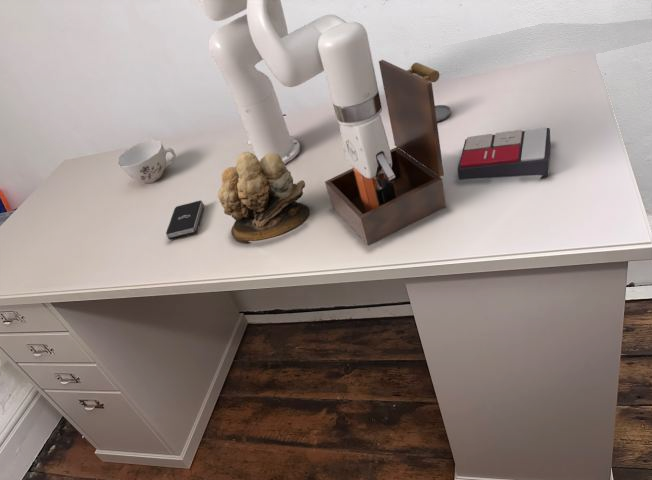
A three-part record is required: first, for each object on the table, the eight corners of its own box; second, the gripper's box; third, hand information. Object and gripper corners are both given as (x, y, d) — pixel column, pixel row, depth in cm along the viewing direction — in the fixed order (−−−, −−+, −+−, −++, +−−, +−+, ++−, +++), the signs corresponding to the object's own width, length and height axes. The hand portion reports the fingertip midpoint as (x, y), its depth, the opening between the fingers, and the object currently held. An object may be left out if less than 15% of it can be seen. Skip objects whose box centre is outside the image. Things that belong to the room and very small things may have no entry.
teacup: (127, 195, 139) (111, 170, 134) (138, 171, 148) (123, 146, 143) (178, 181, 136) (164, 154, 131) (186, 157, 145) (173, 131, 140)
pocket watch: (454, 108, 119) (450, 65, 113) (442, 128, 115) (437, 84, 108) (420, 109, 124) (414, 68, 117) (407, 128, 119) (400, 86, 113)
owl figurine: (313, 197, 111) (289, 124, 100) (316, 230, 102) (290, 153, 91) (234, 218, 114) (202, 150, 103) (230, 252, 106) (195, 181, 95)
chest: (369, 249, 93) (360, 218, 88) (333, 210, 105) (324, 181, 101) (446, 210, 94) (442, 178, 90) (402, 176, 106) (396, 146, 102)
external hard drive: (205, 206, 122) (202, 199, 121) (197, 235, 114) (193, 228, 113) (178, 213, 124) (175, 206, 122) (168, 242, 116) (164, 235, 114)
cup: (357, 214, 100) (345, 169, 94) (380, 195, 102) (369, 150, 96) (382, 223, 96) (371, 177, 89) (405, 204, 98) (396, 157, 91)
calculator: (464, 134, 103) (549, 123, 96) (467, 153, 106) (550, 143, 98) (456, 166, 96) (547, 156, 89) (459, 185, 99) (548, 177, 92)
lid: (427, 84, 79) (456, 70, 79) (378, 61, 91) (403, 49, 91) (440, 177, 89) (465, 164, 90) (394, 145, 101) (417, 134, 102)
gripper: (317, 101, 92) (341, 185, 103) (360, 133, 79) (382, 226, 90) (354, 83, 92) (374, 169, 104) (404, 112, 79) (420, 207, 91)
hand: (378, 195), depth 97 cm, fingers closed on cup, 6 cm apart
